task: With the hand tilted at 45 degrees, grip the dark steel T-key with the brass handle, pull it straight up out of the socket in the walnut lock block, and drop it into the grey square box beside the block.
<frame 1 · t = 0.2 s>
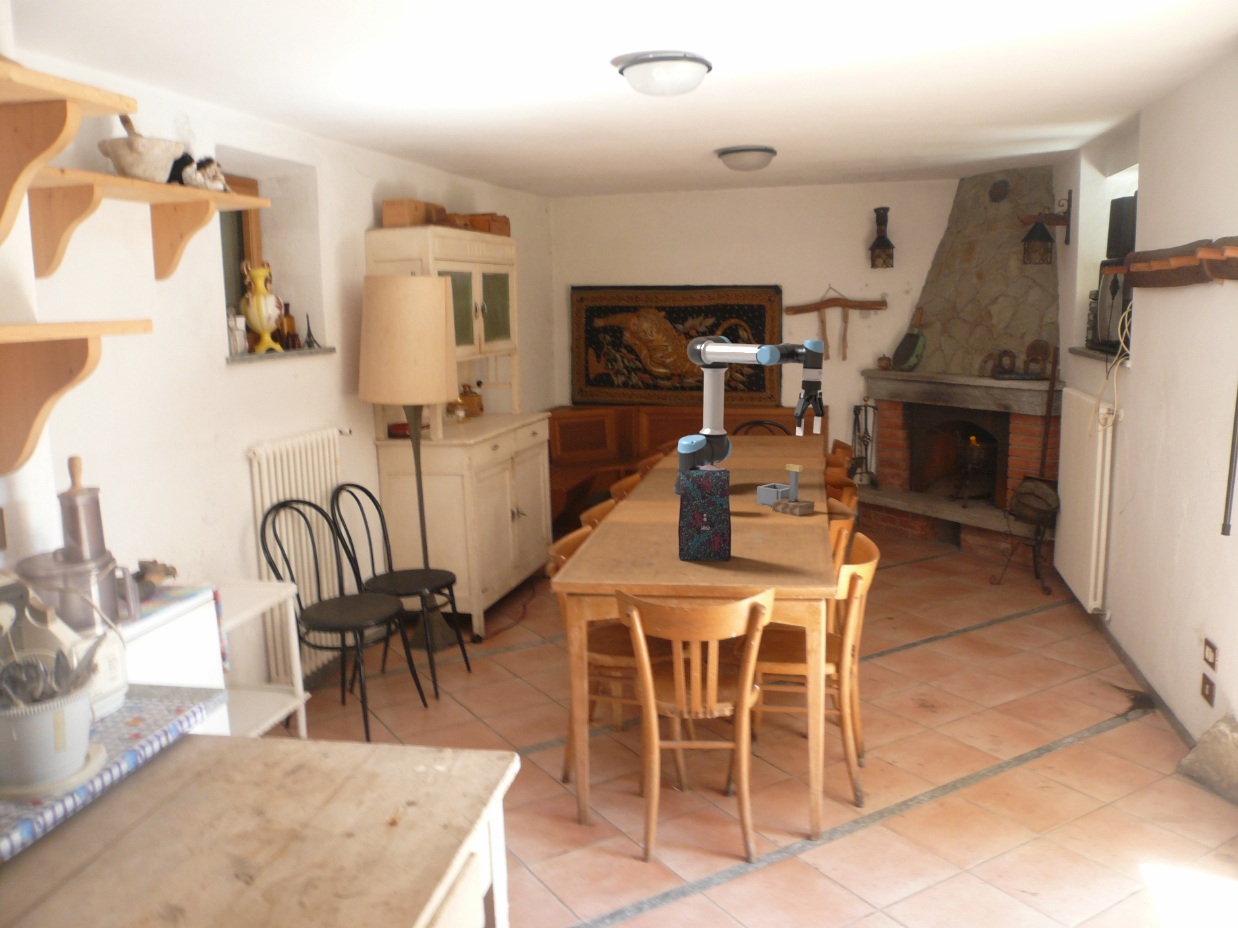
hand: (808, 434, 374), 28 cm above the table, tool pointing down, fingers open, 13 cm apart
grey square box: (776, 504, 379), on the table
moka pot: (707, 512, 366), on the table
decorative box: (704, 558, 303), on the table
t key: (793, 488, 364), in the lock block
lock block: (793, 511, 366), on the table
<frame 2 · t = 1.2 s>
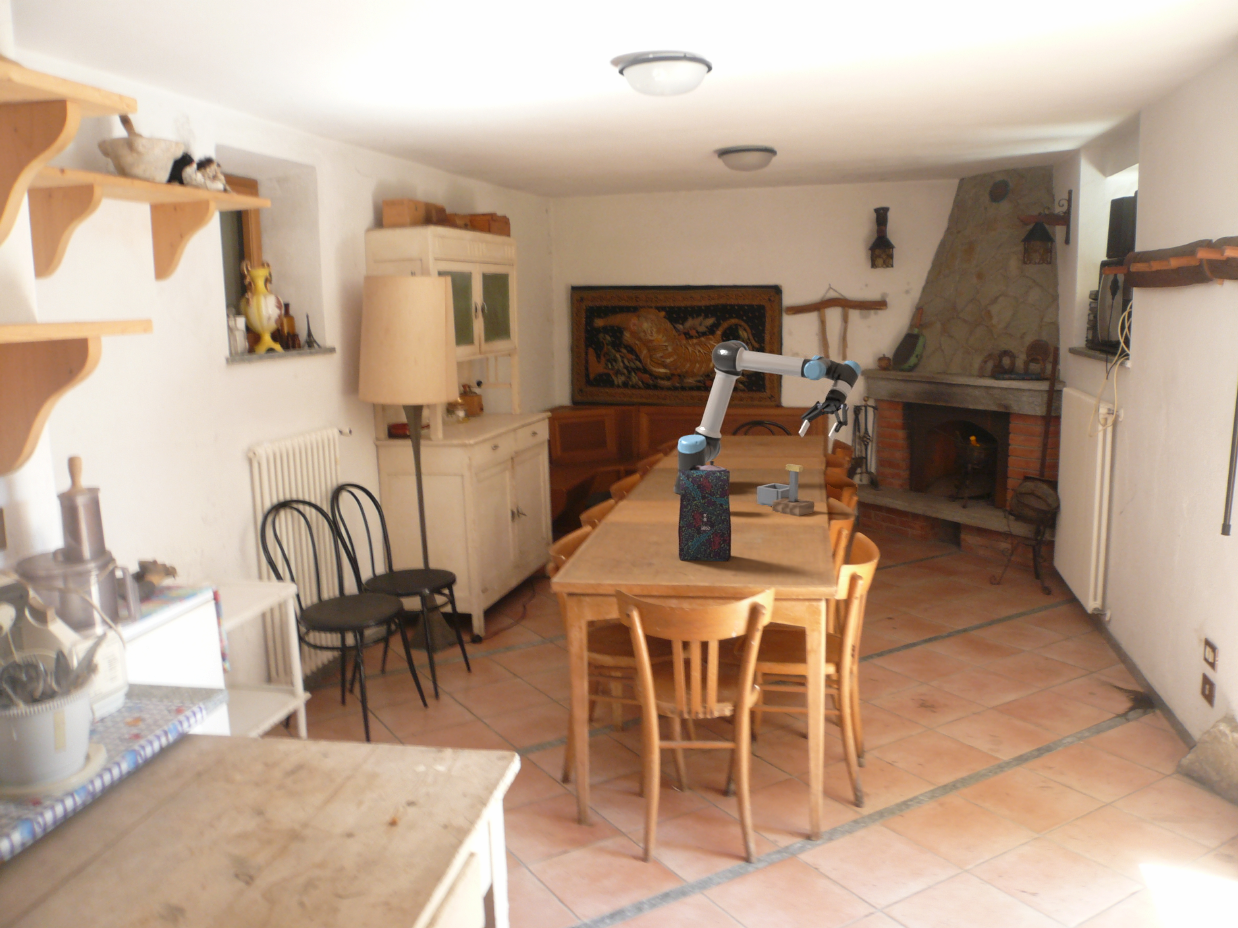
hand: (815, 436, 370), 28 cm above the table, tool tilted 45°, fingers open, 13 cm apart
nothing on the table moved.
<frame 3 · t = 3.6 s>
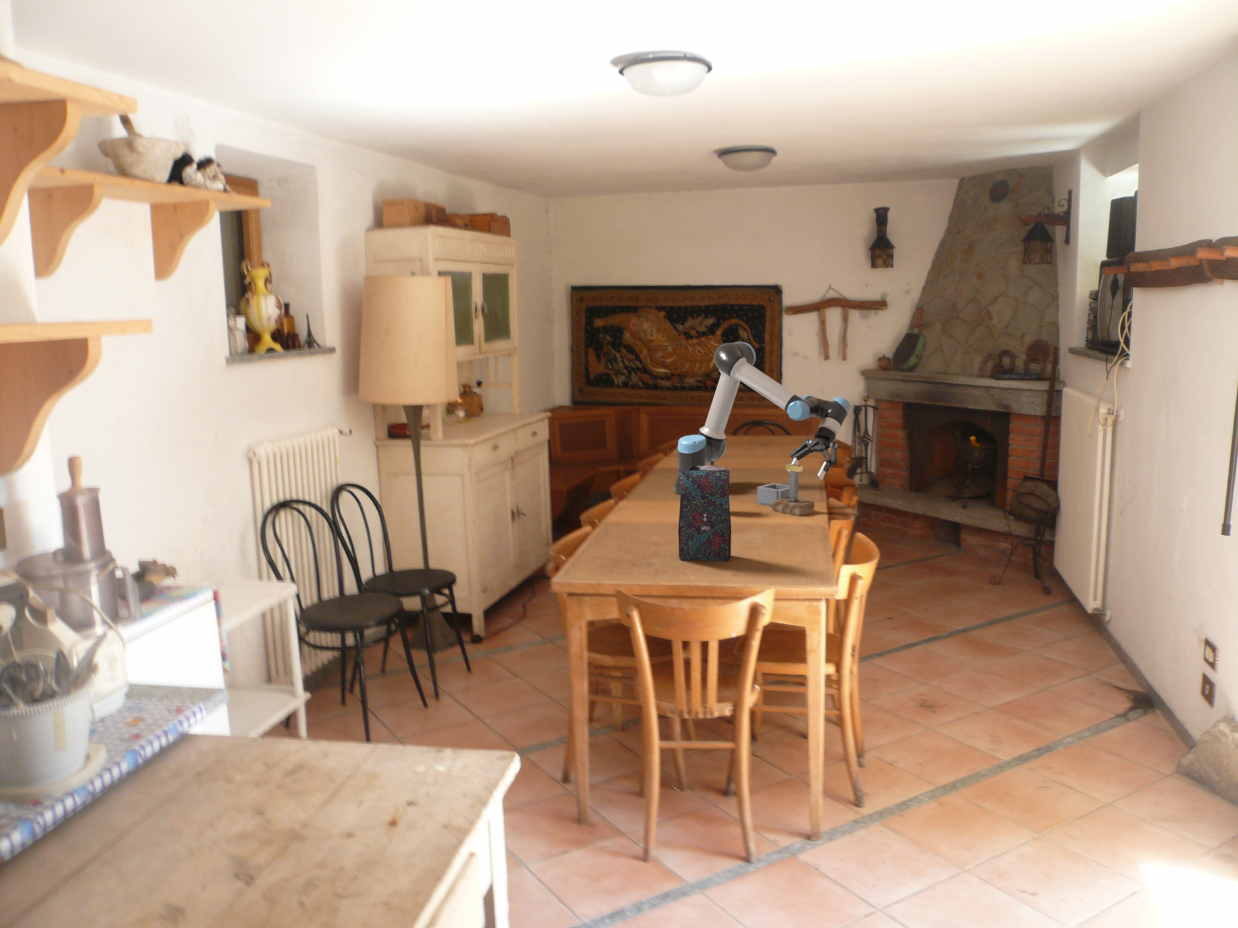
hand: (804, 475, 367), 13 cm above the table, tool tilted 45°, fingers open, 13 cm apart
nothing on the table moved.
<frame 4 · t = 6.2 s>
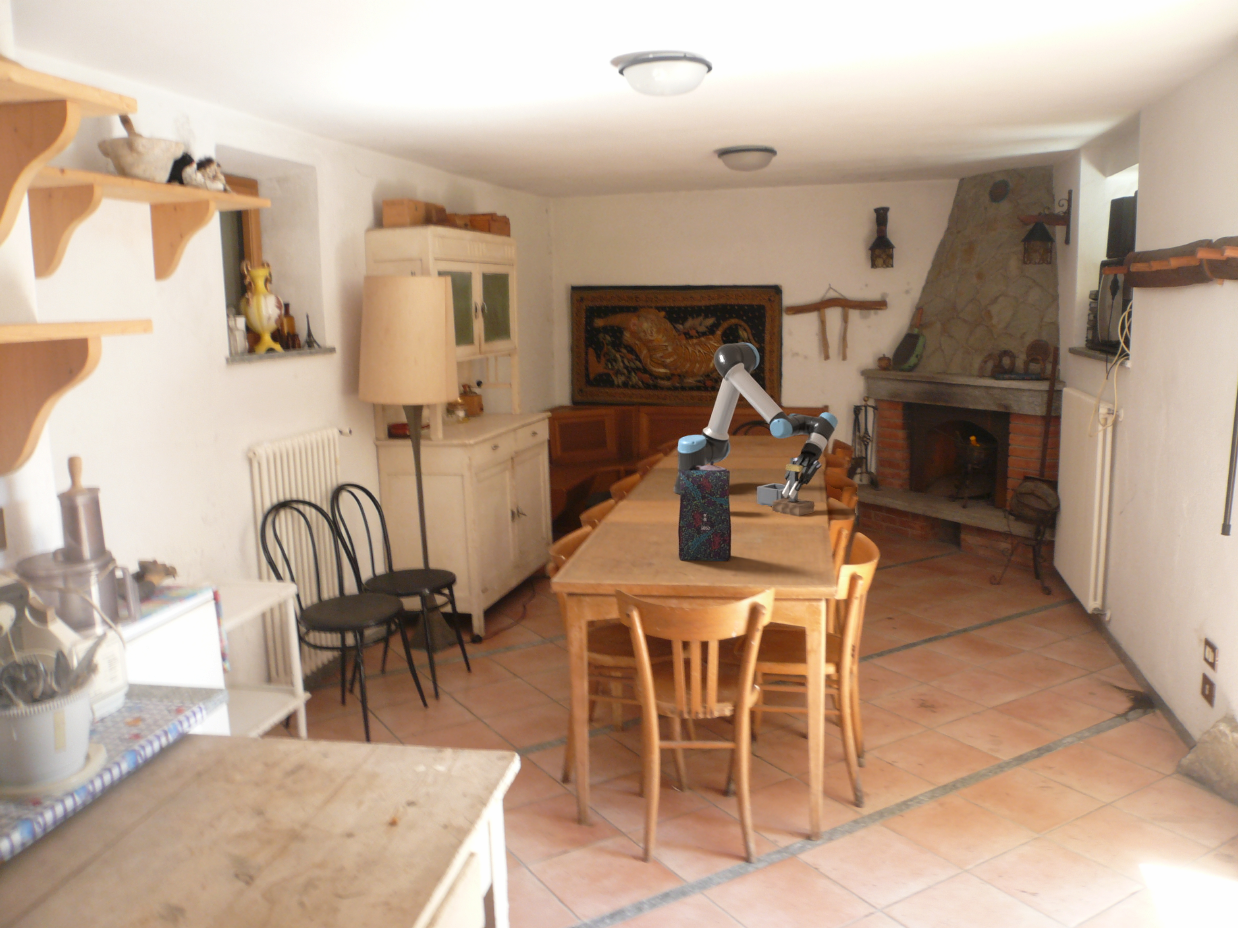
hand: (787, 496, 362), 7 cm above the table, tool tilted 45°, fingers closed on t key, 2 cm apart
t key: (793, 488, 364), in the lock block, touching gripper
everything else where it was.
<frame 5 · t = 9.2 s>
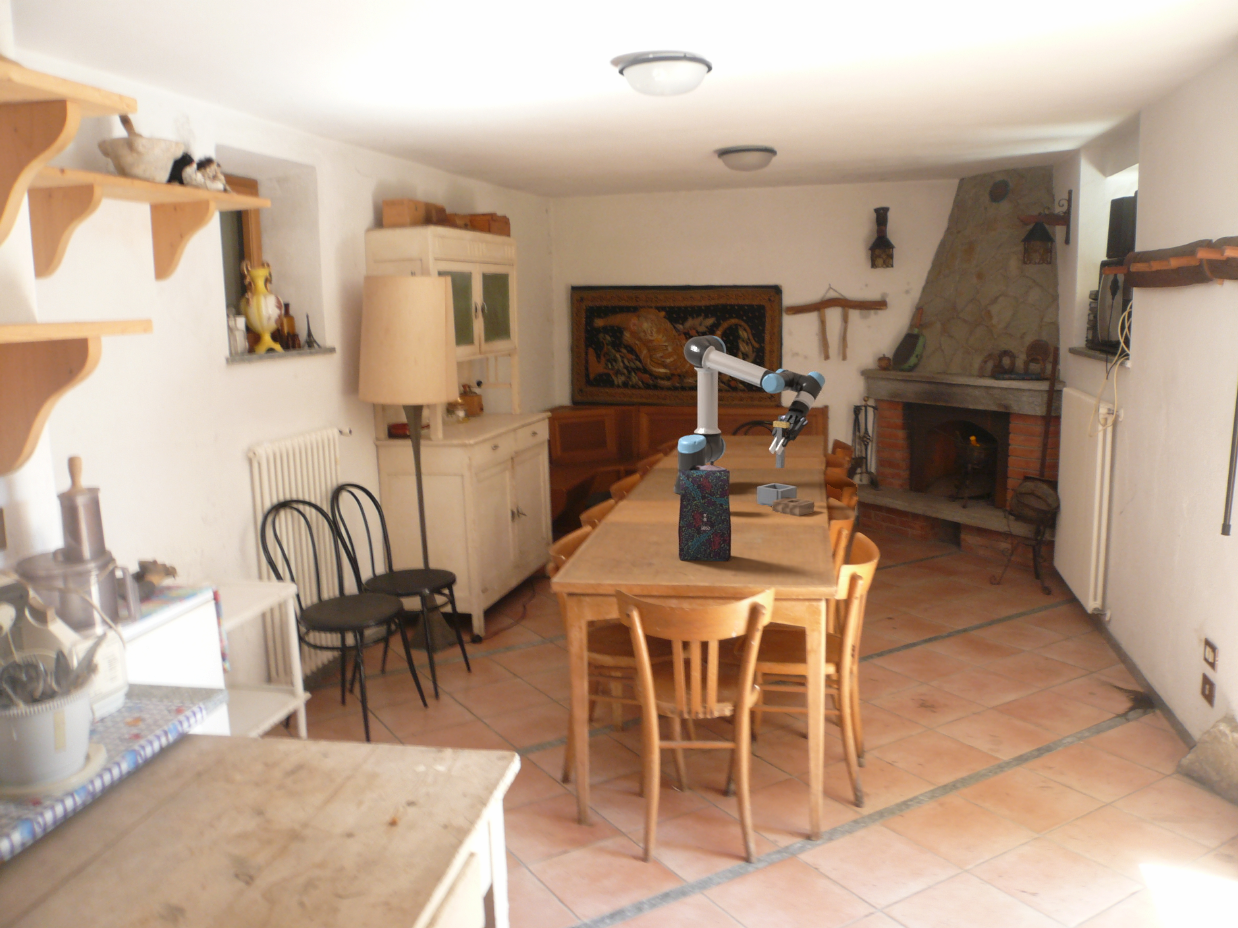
hand: (774, 452, 371), 22 cm above the table, tool tilted 45°, fingers closed on t key, 2 cm apart
t key: (780, 444, 373), point 24 cm above the table, touching gripper
everything else where it was.
when the fingers open (10 cm above the table, at t = 12.4 s): t key drops 2 cm, resting on grey square box.
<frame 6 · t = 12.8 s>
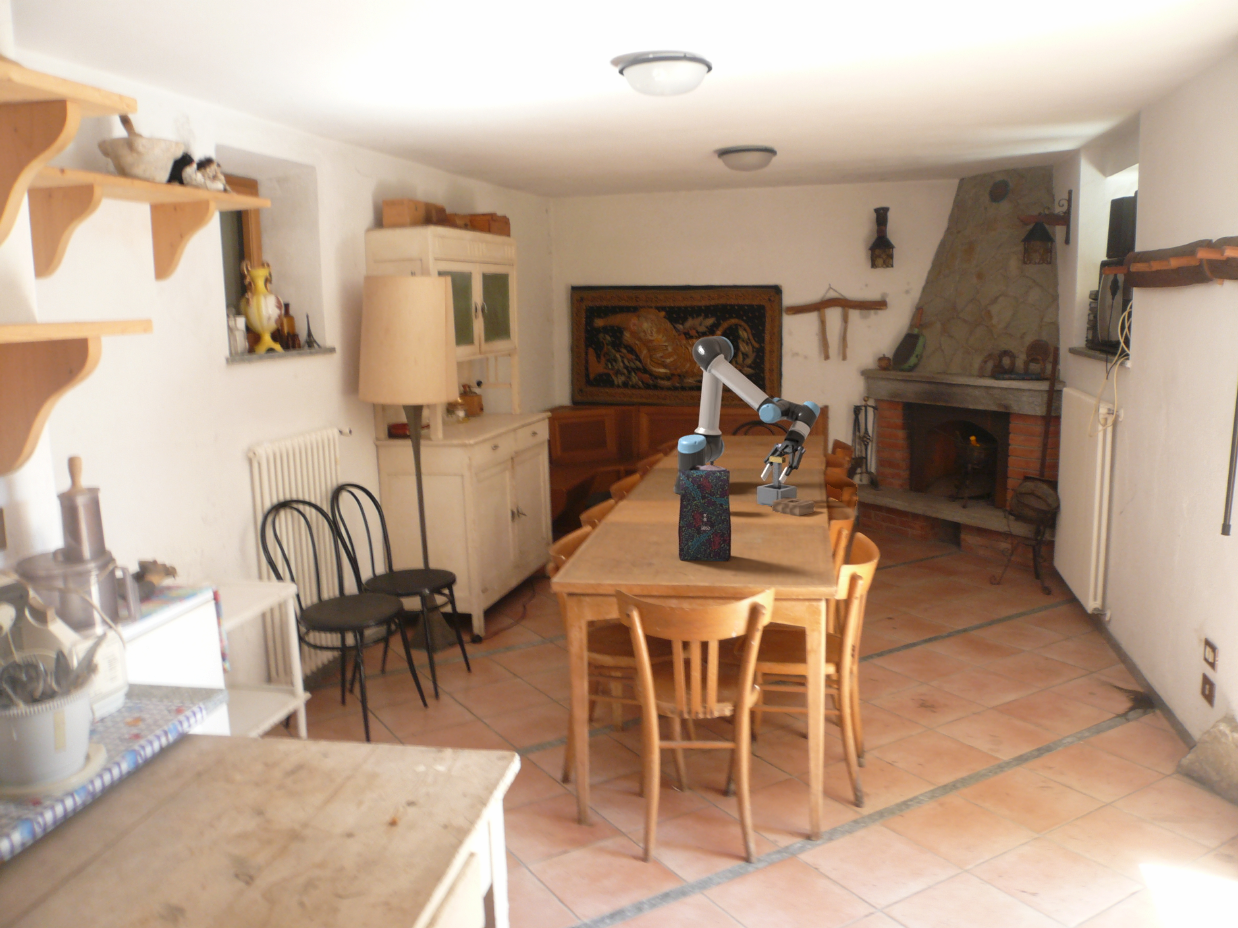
hand: (771, 480, 375), 10 cm above the table, tool tilted 45°, fingers open, 8 cm apart
t key: (777, 479, 378), in the grey square box, point 10 cm above the table
everything else where it was.
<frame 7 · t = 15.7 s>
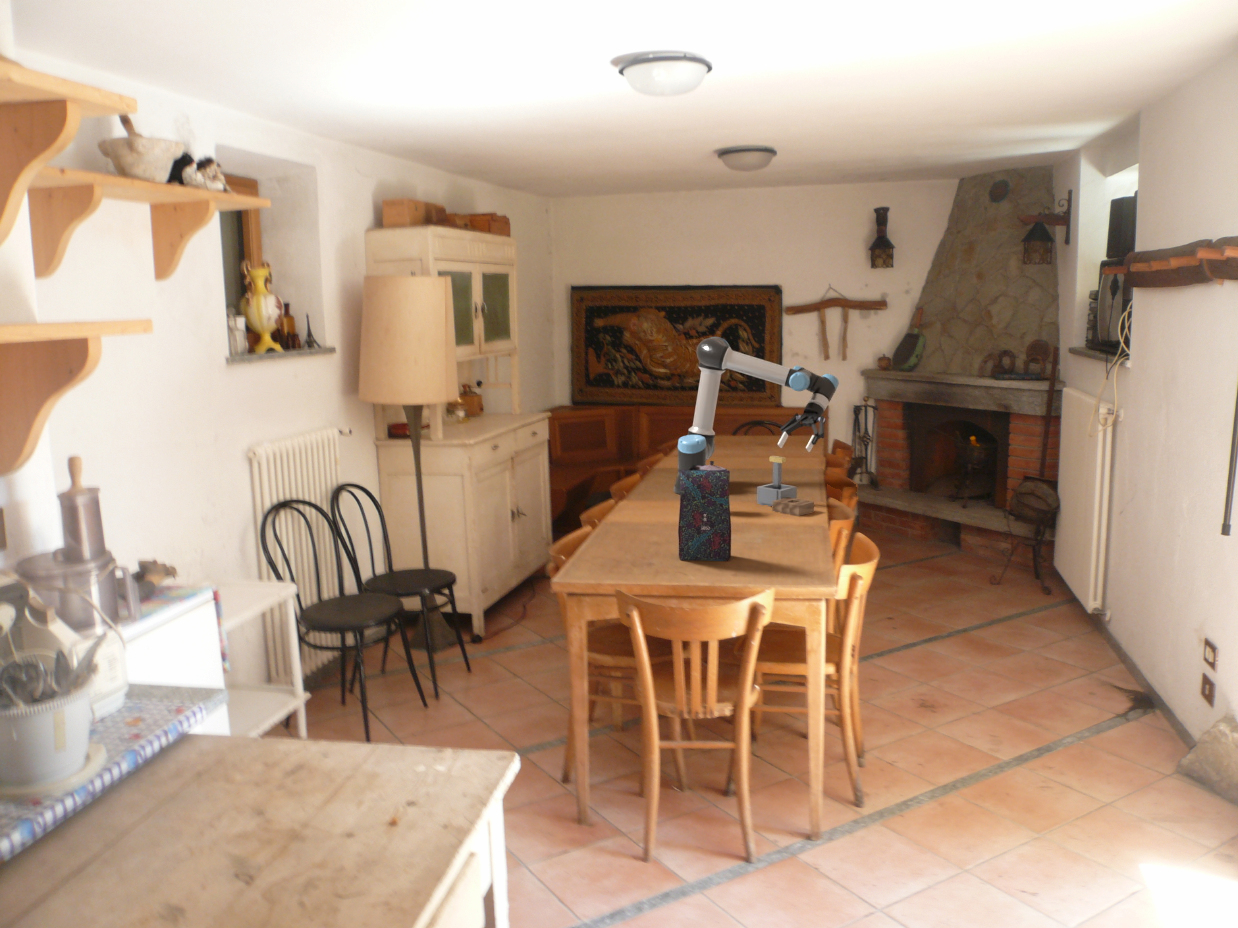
hand: (793, 448, 383), 21 cm above the table, tool tilted 45°, fingers open, 13 cm apart
nothing on the table moved.
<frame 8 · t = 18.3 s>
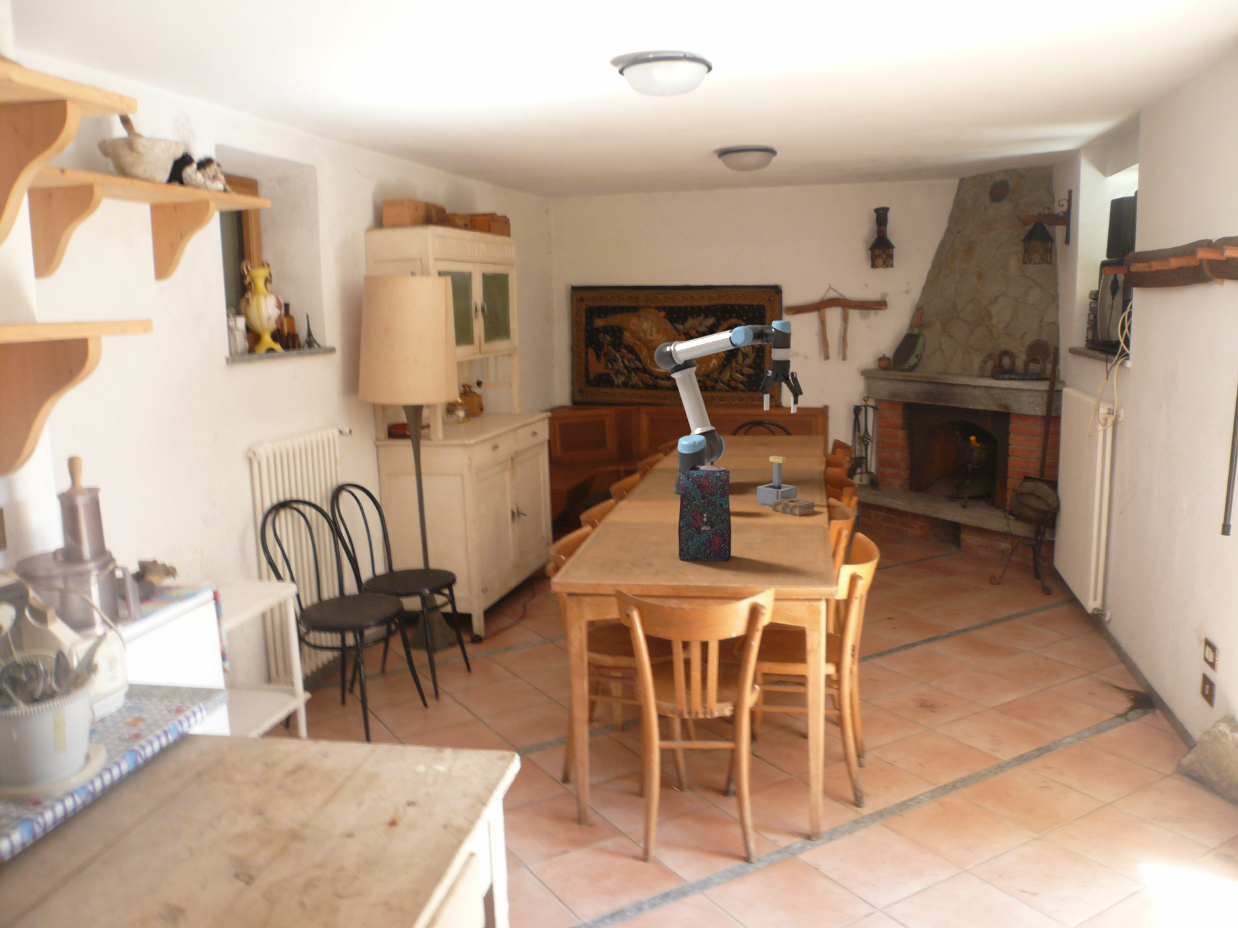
hand: (779, 411, 391), 35 cm above the table, tool pointing down, fingers open, 13 cm apart
nothing on the table moved.
at the end: t key inside the target area on the grey square box (0.0 cm from its centre), point 10.0 cm above the grey square box's base; the gripper is holding nothing; t key moved 14.2 cm from its start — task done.
